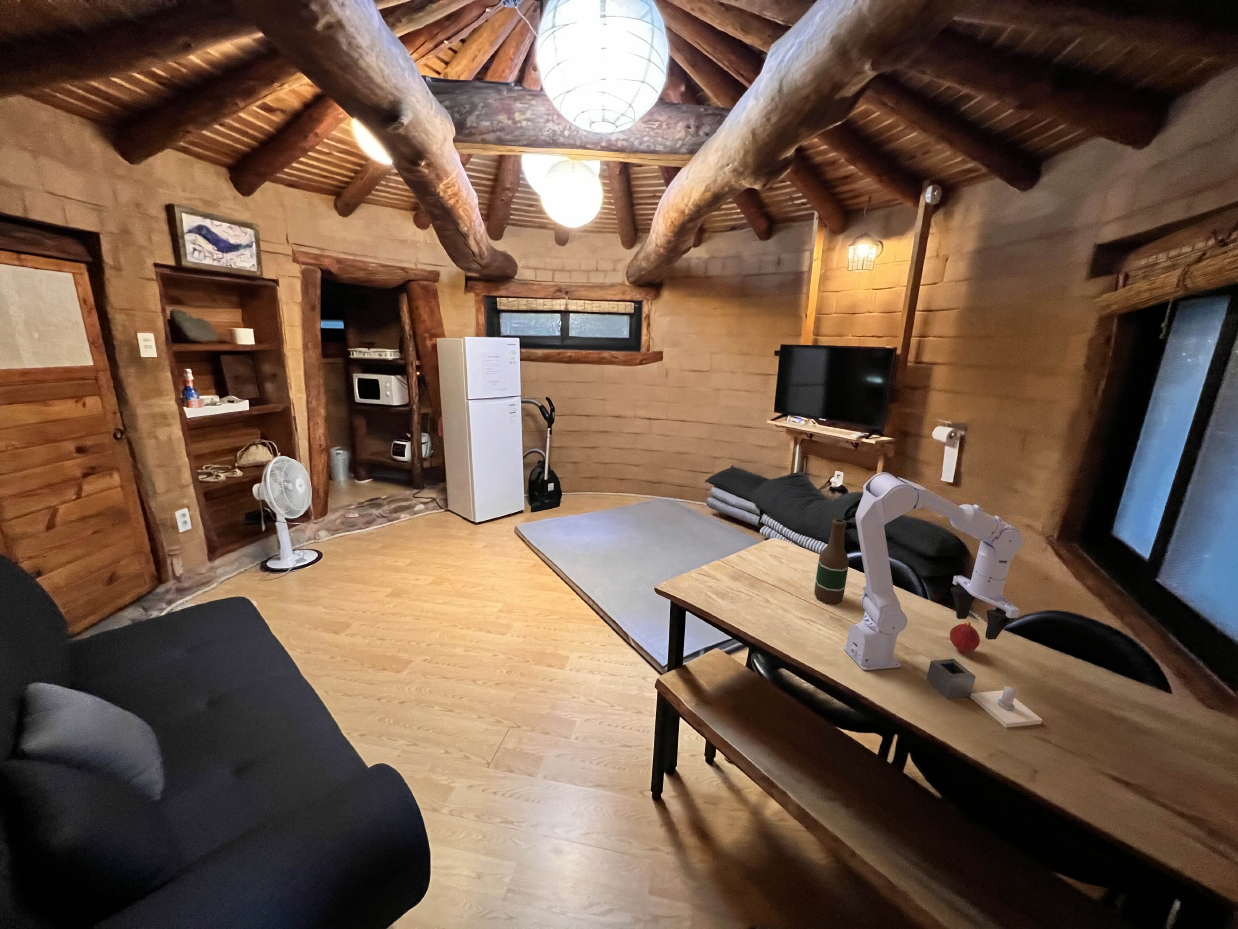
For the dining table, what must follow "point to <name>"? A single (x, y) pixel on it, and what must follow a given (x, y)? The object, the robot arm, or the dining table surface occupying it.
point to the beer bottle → (832, 567)
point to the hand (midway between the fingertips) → (975, 628)
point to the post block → (1006, 708)
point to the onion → (964, 637)
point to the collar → (950, 678)
